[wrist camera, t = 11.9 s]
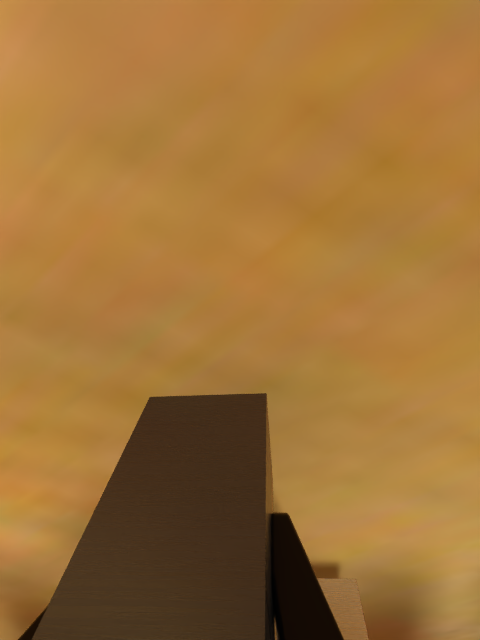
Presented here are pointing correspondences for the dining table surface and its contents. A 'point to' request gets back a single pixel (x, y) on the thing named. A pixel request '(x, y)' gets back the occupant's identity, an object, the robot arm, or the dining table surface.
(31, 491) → the dining table surface
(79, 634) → the grey angular piece
